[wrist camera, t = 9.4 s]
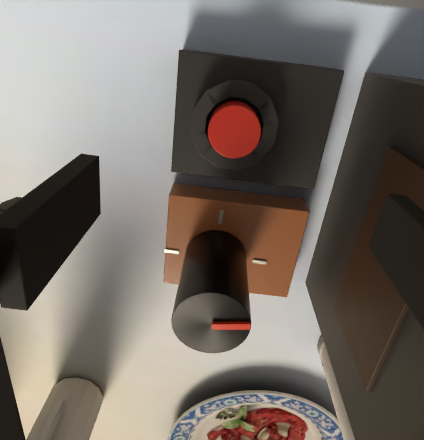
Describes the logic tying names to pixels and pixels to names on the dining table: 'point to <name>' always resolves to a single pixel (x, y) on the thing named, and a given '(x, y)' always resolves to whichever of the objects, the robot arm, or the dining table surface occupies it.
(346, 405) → the coffee maker
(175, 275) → the control panel
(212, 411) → the ceramic plate
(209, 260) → the knob
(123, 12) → the dining table surface
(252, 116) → the power button
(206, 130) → the button base
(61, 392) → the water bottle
